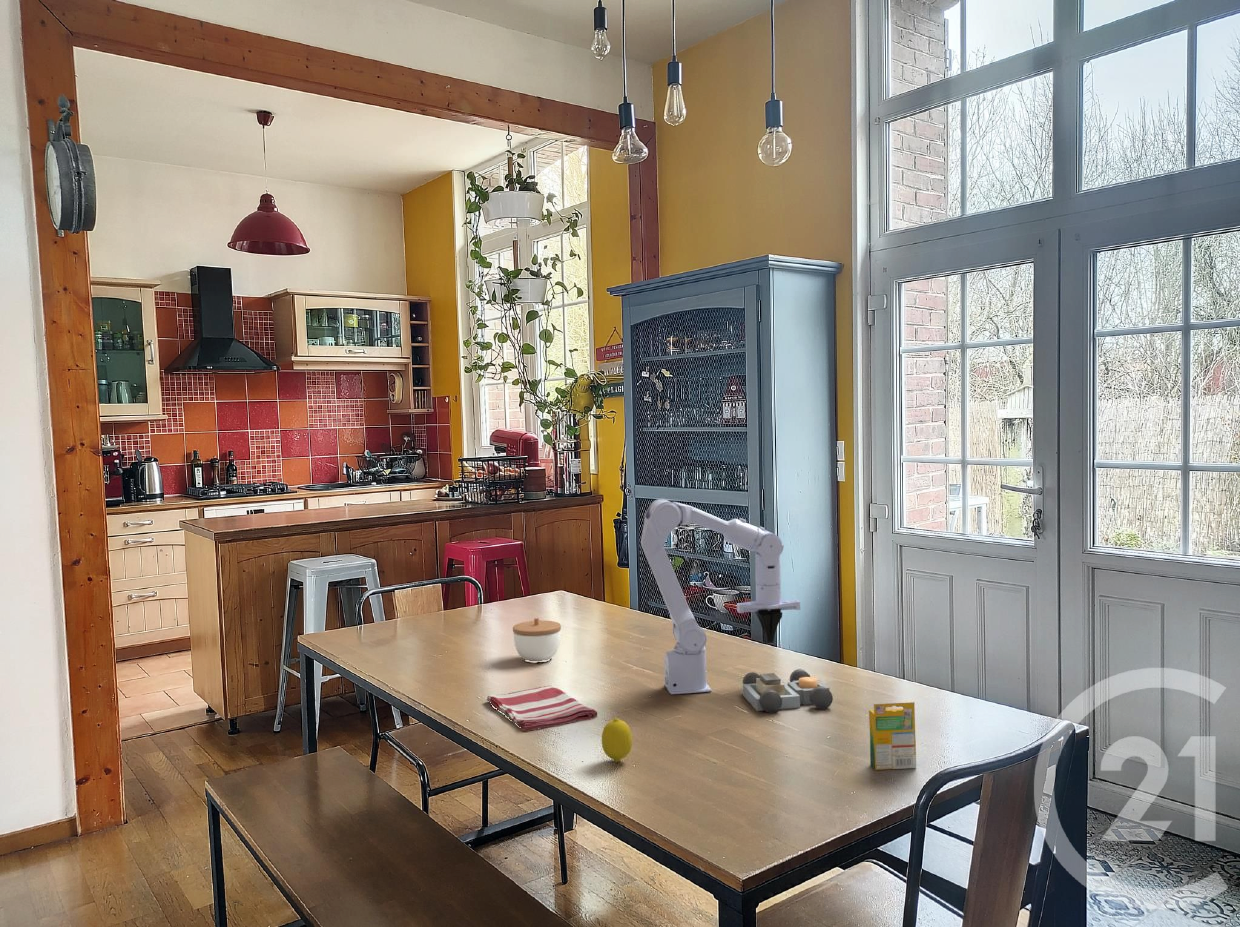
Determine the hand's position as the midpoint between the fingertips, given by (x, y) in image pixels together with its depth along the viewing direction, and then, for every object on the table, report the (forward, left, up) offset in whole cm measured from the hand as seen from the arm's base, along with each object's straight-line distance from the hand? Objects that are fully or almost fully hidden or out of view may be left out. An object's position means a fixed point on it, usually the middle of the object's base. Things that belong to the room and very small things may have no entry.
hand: (769, 641), depth 201 cm
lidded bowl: (-53, +34, -10) cm, 64 cm away
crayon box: (+6, -52, -10) cm, 53 cm away
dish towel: (-54, -7, -11) cm, 55 cm away
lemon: (-41, -40, -10) cm, 58 cm away
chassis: (-1, -13, -10) cm, 16 cm away
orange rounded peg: (+5, -13, -9) cm, 16 cm away
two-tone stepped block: (-4, -12, -10) cm, 16 cm away
